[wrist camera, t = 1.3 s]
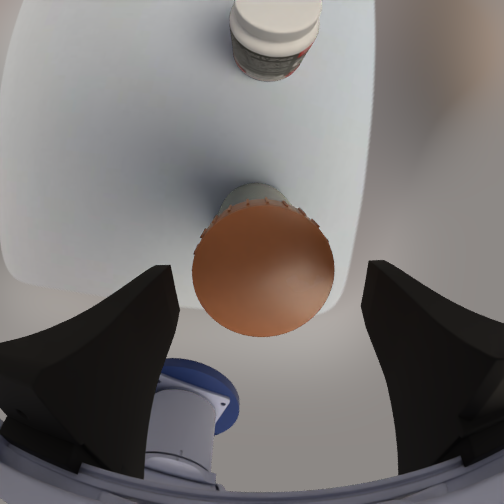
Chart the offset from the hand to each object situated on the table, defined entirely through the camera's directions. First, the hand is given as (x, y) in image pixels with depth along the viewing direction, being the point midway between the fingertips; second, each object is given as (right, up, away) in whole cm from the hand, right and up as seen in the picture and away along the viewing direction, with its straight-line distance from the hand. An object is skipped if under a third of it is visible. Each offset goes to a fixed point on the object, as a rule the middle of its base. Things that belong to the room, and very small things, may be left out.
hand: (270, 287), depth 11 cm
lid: (0, 0, +1) cm, 1 cm away
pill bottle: (0, +15, +7) cm, 17 cm away
